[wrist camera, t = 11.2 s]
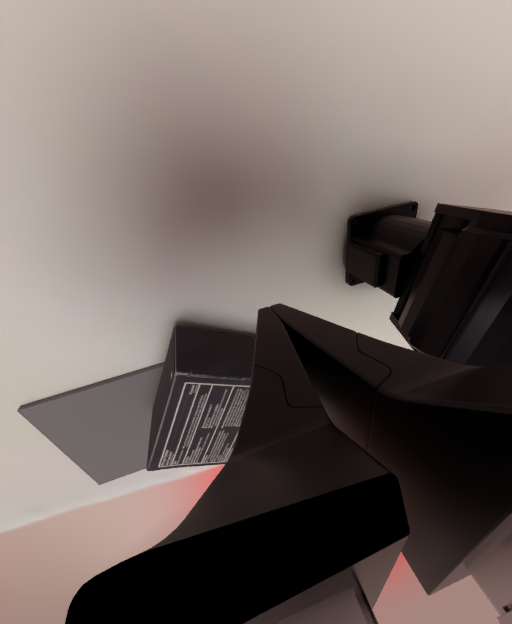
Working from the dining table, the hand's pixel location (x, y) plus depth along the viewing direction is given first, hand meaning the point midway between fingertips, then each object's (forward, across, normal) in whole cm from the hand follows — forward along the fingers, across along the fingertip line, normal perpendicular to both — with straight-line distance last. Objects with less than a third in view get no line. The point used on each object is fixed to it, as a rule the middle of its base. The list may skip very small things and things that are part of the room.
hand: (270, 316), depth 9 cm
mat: (+12, +12, +17) cm, 24 cm away
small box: (+8, -1, +16) cm, 18 cm away
